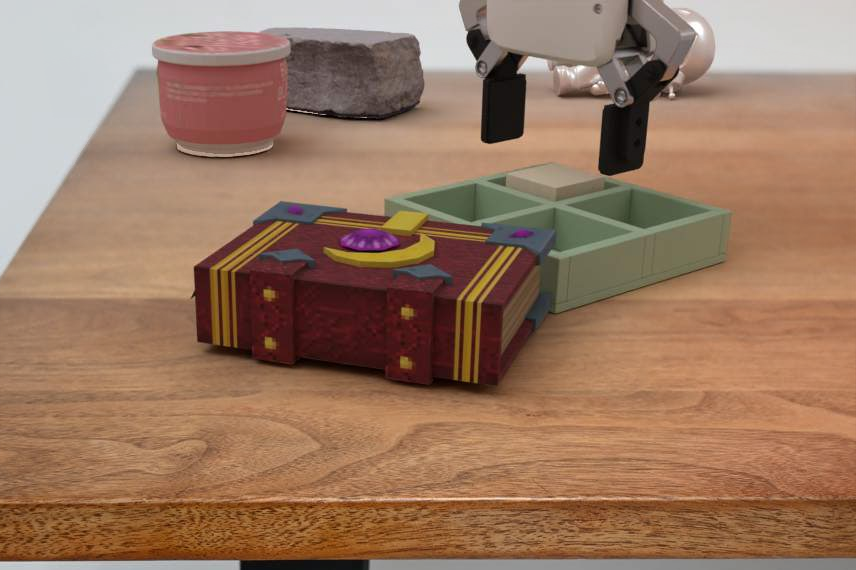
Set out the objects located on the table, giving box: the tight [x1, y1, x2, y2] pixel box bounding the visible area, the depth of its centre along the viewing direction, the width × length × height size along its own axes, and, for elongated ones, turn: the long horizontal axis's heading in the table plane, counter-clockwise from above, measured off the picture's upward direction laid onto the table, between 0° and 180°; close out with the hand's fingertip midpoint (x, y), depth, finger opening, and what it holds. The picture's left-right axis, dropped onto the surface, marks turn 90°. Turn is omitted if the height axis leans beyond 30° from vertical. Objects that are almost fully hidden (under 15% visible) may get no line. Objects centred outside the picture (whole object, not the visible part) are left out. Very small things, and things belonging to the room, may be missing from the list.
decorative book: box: [190, 200, 557, 387], centre depth 62 cm, size 11×16×5 cm
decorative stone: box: [258, 27, 425, 119], centre depth 109 cm, size 15×7×10 cm
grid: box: [383, 161, 733, 315], centre depth 73 cm, size 14×14×3 cm
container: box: [151, 30, 291, 154], centre depth 97 cm, size 10×10×8 cm
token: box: [506, 162, 606, 202], centre depth 77 cm, size 4×4×3 cm
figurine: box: [546, 7, 716, 100], centre depth 115 cm, size 11×7×15 cm
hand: (558, 155), depth 76 cm, fingers open, 9 cm apart
